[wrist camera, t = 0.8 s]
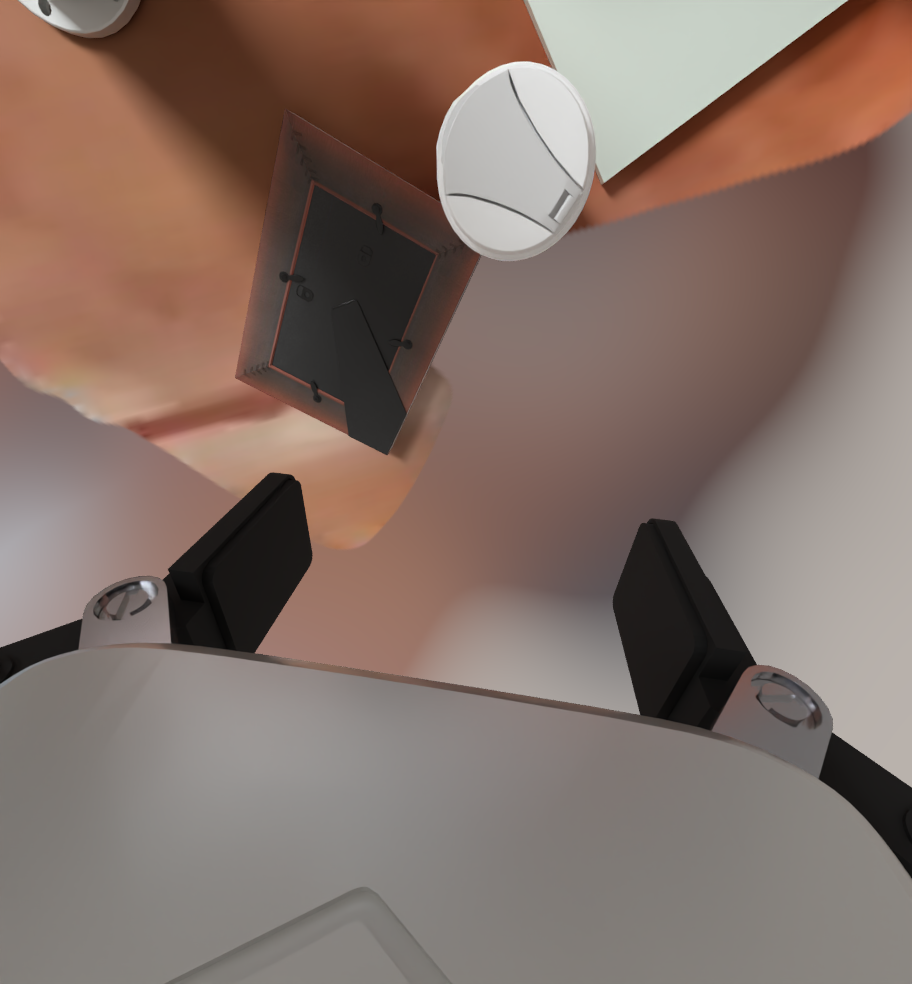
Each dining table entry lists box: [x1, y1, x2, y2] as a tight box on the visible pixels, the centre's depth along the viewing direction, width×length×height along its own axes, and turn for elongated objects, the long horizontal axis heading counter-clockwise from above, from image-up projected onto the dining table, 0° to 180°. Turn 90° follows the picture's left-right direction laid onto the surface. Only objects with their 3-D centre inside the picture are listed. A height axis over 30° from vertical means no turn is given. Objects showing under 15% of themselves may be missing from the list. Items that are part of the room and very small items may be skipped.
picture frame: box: [235, 109, 482, 455], centre depth 36 cm, size 16×2×22 cm
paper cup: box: [436, 62, 596, 261], centre depth 25 cm, size 8×8×14 cm
